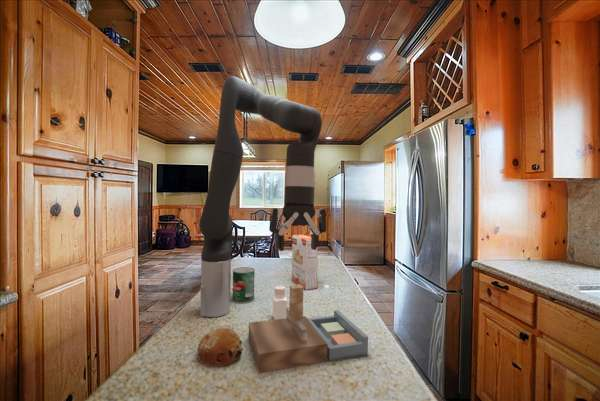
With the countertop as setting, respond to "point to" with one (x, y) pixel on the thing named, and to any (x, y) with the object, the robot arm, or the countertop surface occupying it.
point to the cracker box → (304, 262)
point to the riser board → (284, 345)
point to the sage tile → (332, 329)
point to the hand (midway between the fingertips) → (297, 249)
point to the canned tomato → (243, 285)
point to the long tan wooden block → (296, 312)
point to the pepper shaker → (279, 303)
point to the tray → (342, 349)
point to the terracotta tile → (342, 339)
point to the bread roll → (220, 347)
